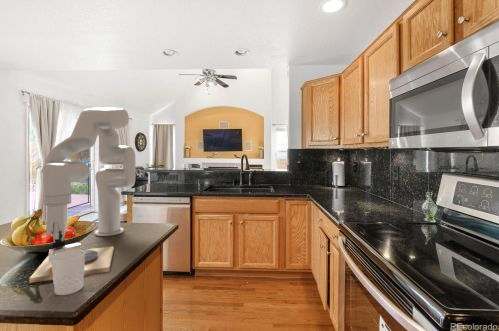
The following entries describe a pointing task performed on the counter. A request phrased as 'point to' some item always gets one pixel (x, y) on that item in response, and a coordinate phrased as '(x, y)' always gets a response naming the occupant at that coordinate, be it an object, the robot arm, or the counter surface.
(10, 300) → the counter surface
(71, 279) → the white cup
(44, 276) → the dial panel
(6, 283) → the counter surface
